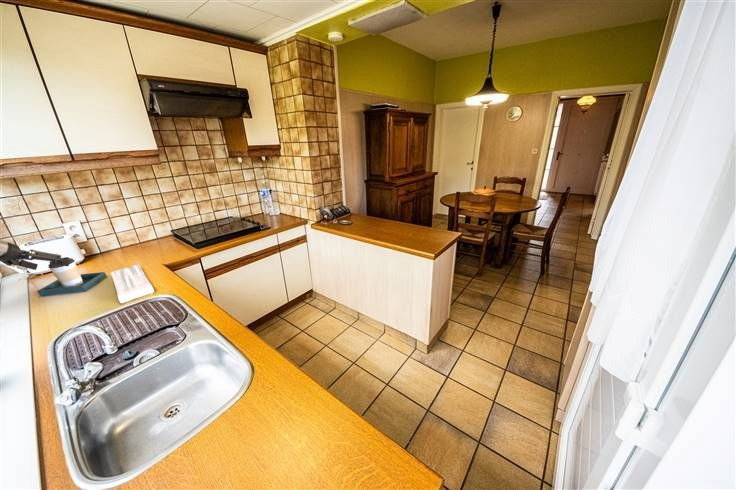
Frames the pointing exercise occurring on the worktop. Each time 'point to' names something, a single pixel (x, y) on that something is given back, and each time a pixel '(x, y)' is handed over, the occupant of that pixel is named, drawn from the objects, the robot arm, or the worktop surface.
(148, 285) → the hand towel
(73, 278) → the coffee cup
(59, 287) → the tray
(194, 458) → the worktop surface
